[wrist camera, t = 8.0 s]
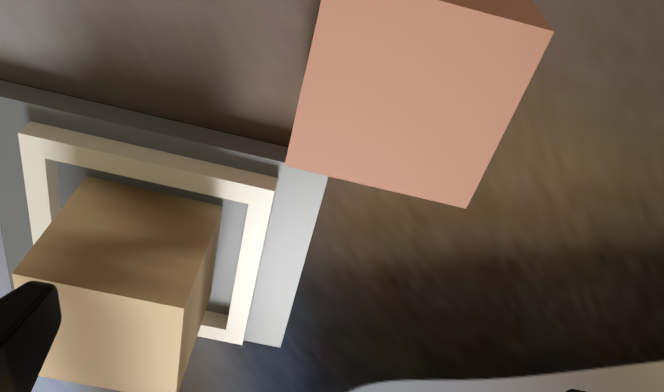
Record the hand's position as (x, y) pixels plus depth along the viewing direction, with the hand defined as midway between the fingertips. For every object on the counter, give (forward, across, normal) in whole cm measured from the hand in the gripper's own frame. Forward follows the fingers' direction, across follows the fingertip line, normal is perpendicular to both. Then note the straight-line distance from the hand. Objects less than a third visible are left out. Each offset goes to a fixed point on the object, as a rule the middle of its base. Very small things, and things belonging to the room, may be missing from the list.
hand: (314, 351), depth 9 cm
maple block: (+10, +6, +8) cm, 14 cm away
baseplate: (+10, +6, +8) cm, 14 cm away
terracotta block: (+11, -1, -2) cm, 11 cm away
